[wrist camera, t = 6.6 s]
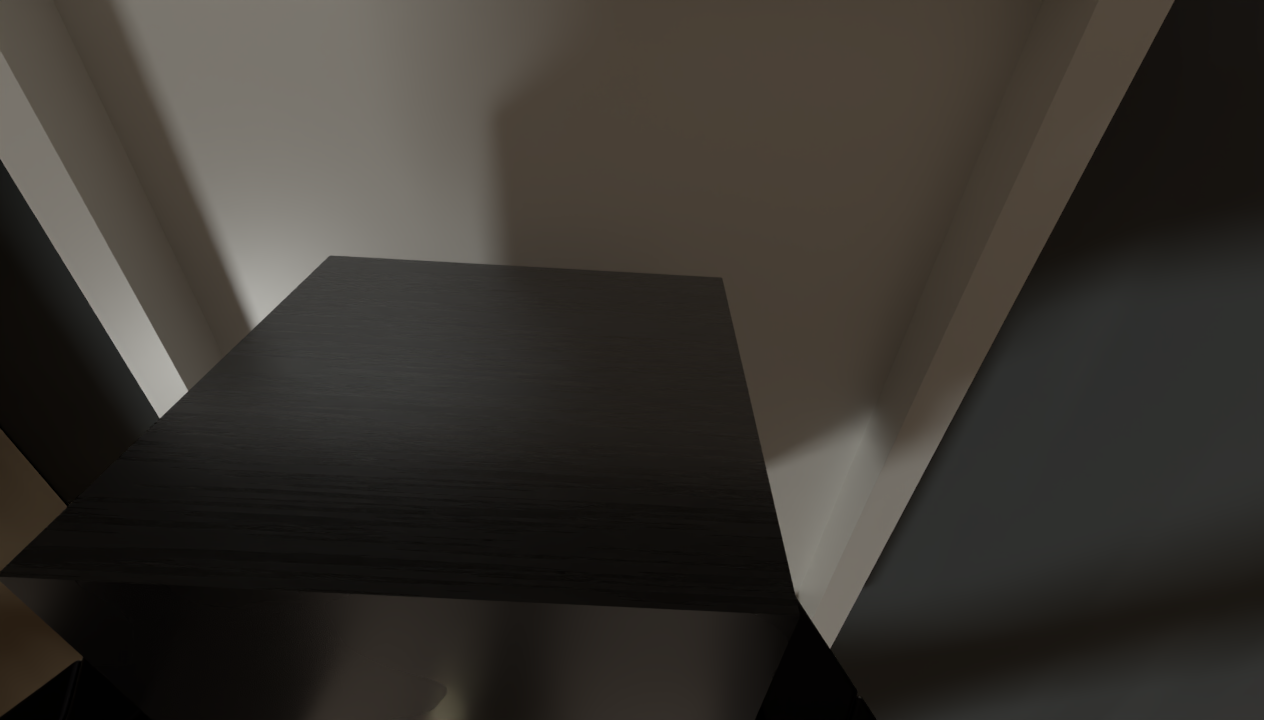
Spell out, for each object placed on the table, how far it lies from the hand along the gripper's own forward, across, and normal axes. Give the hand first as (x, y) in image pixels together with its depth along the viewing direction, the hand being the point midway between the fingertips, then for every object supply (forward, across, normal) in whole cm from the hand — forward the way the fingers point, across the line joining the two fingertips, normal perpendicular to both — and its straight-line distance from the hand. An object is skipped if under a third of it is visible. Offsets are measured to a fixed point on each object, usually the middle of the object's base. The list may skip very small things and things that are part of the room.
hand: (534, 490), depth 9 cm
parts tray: (+3, 0, 0) cm, 3 cm away
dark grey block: (+1, 0, 0) cm, 1 cm away
